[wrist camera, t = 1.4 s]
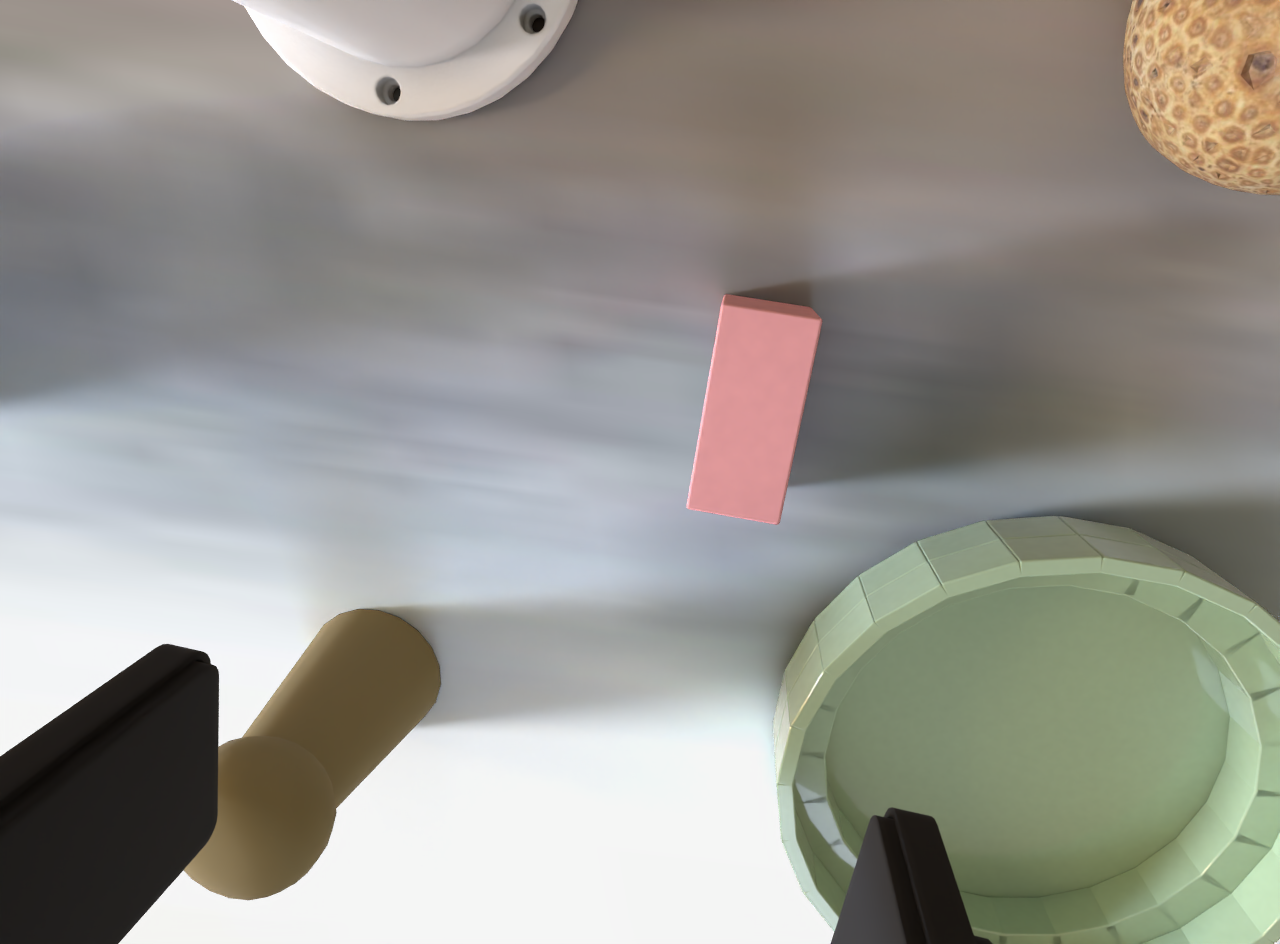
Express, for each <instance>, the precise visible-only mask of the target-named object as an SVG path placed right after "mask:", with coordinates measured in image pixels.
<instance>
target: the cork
mask: <svg viewBox="0 0 1280 944" xmlns="http://www.w3.org/2000/svg"><path fill="white" fill-rule="evenodd" d="M440 685H441V682H440V670H439V664H438V662H437V659H436V657H435V655H434V652H433V650H432V648H431V646H430V645H429V644H428V642H427V641H426V640H425V639H424V638H423V636H422V635H421V634H420V633H419V631H418V630H416V629H415V628H414V627H412V626H411V625H409V624H408V623H406V622H405V621H404V620H402V619H401V618H399V617H396V616H393V615H391V614H388V613H385V612H382V611H379V610H364V609H357V610H353V611H349V612H345V613H342V614H339V615H337V616H336V617H334V618H333V619H332V620H330V621H329V622H327V623H326V624H324V626H323V627H322V628H321V630H320V631H319V633H318V634H317V635H316V637H315V638H314V639H313V641H312V642H311V644H310V645H309V646H308V648H307V649H306V650H305V652H304V653H303V655H302V656H301V657H300V659H299V660H298V661H297V663H296V664H295V666H294V667H293V668H292V670H291V671H290V672H289V674H288V675H287V677H286V678H285V679H284V681H283V682H282V683H281V685H280V686H279V688H278V689H277V690H276V692H275V693H274V694H273V696H272V697H271V699H270V700H269V701H268V703H267V704H266V705H265V707H264V708H263V710H262V711H261V712H260V714H259V715H258V716H257V718H256V719H255V721H254V722H253V723H252V725H251V726H250V727H249V729H248V730H247V732H246V733H245V734H244V736H243V737H242V738H240V739H235V740H231V741H228V742H226V743H225V744H223V745H221V746H219V747H218V816H217V823H216V826H215V829H214V831H213V834H212V836H211V837H210V839H209V841H208V842H207V844H206V845H205V846H204V847H203V848H202V850H201V851H200V852H199V853H198V854H197V855H196V856H195V857H194V859H193V860H192V861H191V862H190V863H189V864H188V865H187V867H186V868H185V869H184V871H185V872H186V873H187V874H188V875H189V876H190V877H191V879H193V880H194V881H196V882H197V883H199V884H200V885H202V886H203V887H205V888H206V889H208V890H209V891H212V892H214V893H217V894H220V895H223V896H225V897H228V898H234V899H243V900H253V899H258V898H264V897H268V896H271V895H273V894H276V893H278V892H281V891H282V890H284V889H286V888H288V887H289V886H291V885H293V884H295V883H296V882H297V881H298V880H300V879H301V878H302V877H303V876H304V875H305V874H306V873H308V871H309V870H310V869H311V867H312V866H313V865H314V863H315V862H316V861H317V860H318V858H319V857H320V855H321V854H322V852H323V851H324V849H325V848H326V846H327V844H328V841H329V838H330V835H331V832H332V829H333V825H334V821H335V817H336V808H337V807H338V806H339V805H340V804H341V803H342V802H343V801H344V800H345V799H346V798H347V797H348V796H349V795H350V793H351V792H352V791H353V790H354V789H355V788H356V787H357V786H358V785H359V784H360V783H361V782H362V781H363V780H364V779H365V778H366V777H367V776H368V775H369V774H370V773H371V772H372V771H373V770H374V769H375V768H376V766H377V765H378V764H379V763H380V762H381V761H382V760H383V759H384V758H385V757H386V756H387V755H388V754H389V753H390V752H391V751H392V750H393V749H394V748H395V747H396V746H397V745H398V744H399V743H400V742H401V740H402V739H403V738H404V737H405V736H406V735H407V734H408V733H409V732H410V731H411V730H412V729H413V728H414V727H415V726H416V725H417V724H418V723H419V722H420V721H421V720H422V719H423V718H424V717H425V715H426V714H427V713H428V712H429V710H430V709H431V708H432V706H433V705H434V704H435V702H436V700H437V696H438V692H439V689H440Z"/></svg>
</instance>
